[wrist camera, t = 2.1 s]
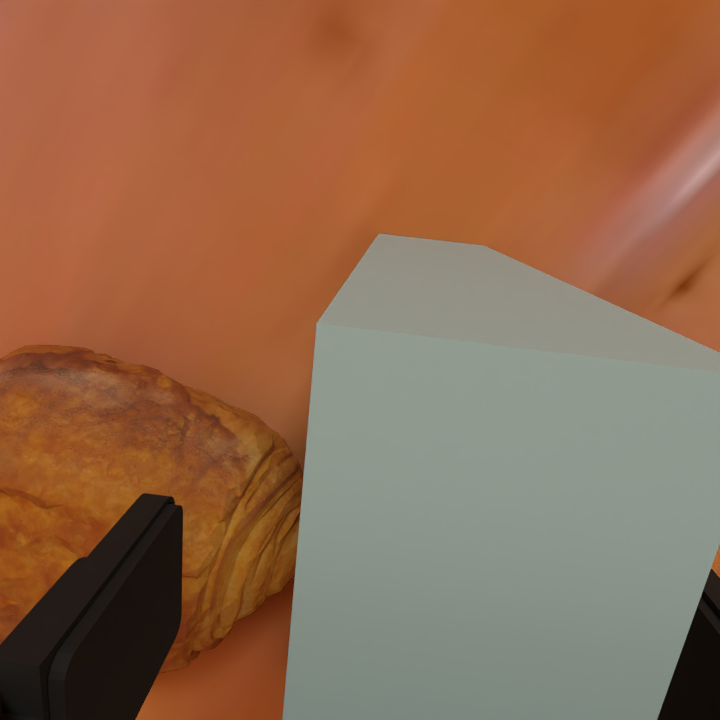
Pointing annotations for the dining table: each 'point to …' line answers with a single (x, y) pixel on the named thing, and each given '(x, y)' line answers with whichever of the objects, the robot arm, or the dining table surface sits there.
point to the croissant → (140, 485)
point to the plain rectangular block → (497, 497)
